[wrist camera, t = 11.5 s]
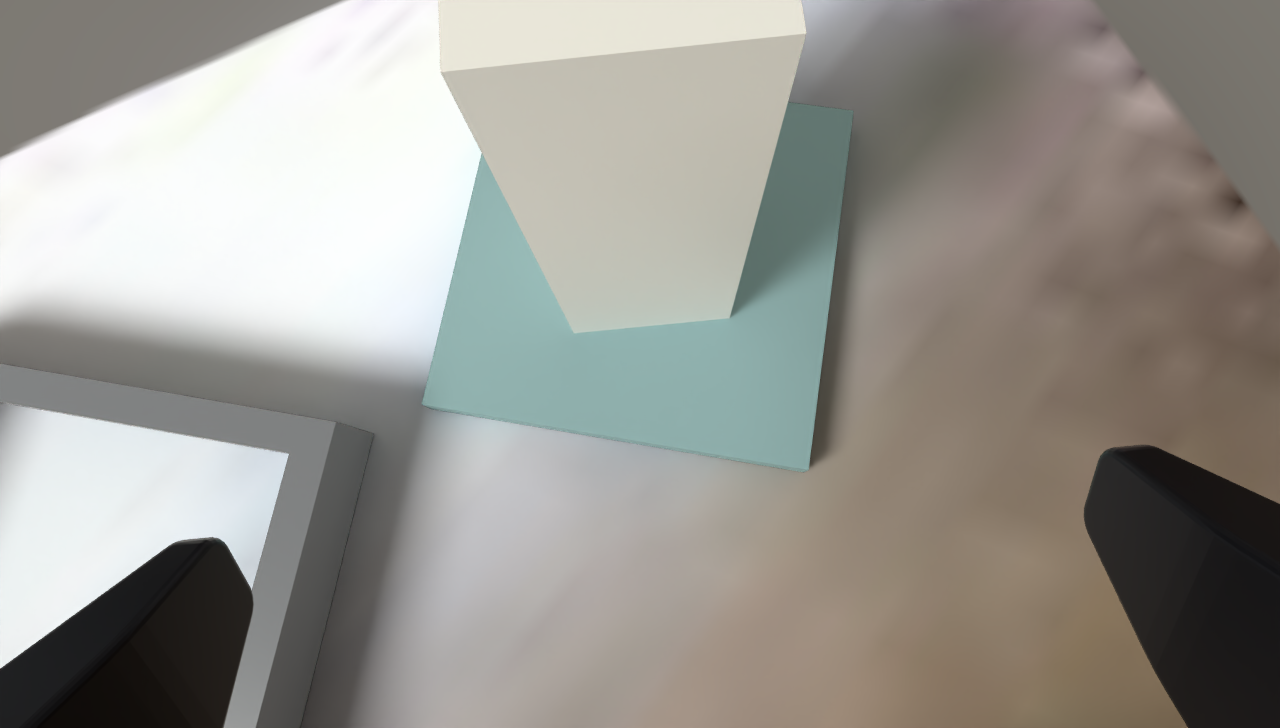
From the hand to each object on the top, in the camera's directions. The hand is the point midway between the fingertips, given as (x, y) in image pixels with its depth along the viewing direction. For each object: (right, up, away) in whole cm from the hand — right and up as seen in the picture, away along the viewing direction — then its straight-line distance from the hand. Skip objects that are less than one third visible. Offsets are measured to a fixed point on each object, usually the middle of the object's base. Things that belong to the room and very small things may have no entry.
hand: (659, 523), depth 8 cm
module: (0, +5, +14) cm, 15 cm away
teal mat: (0, +5, +15) cm, 16 cm away
